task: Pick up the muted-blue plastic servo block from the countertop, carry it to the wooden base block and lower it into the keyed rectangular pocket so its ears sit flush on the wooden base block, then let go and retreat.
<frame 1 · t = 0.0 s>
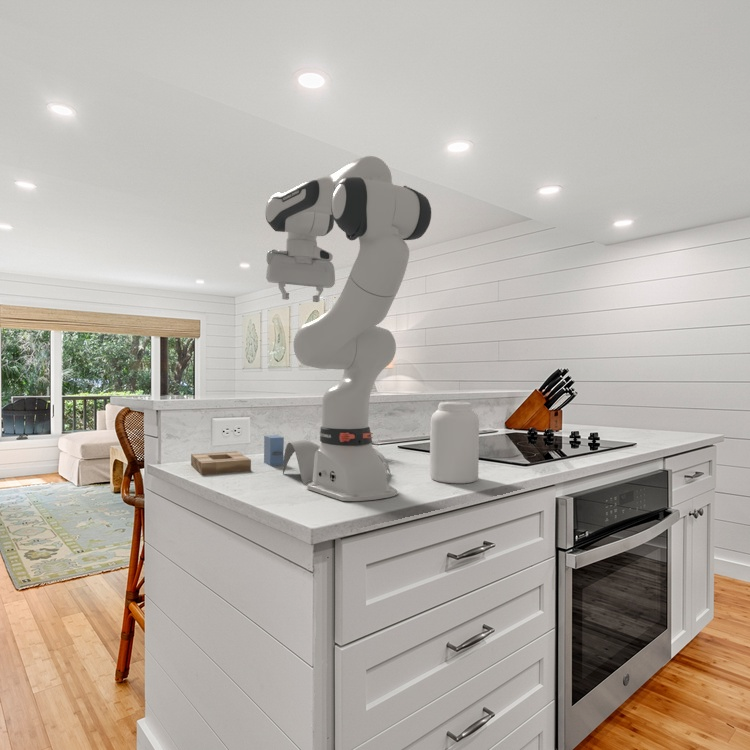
hand: (301, 300, 150), 48 cm above the table, tool pointing down, fingers open, 8 cm apart
sculpture: (335, 476, 138), on the table
servo block: (273, 463, 152), on the table
white lidded jar: (453, 479, 134), on the table
wooden base block: (220, 467, 145), on the table
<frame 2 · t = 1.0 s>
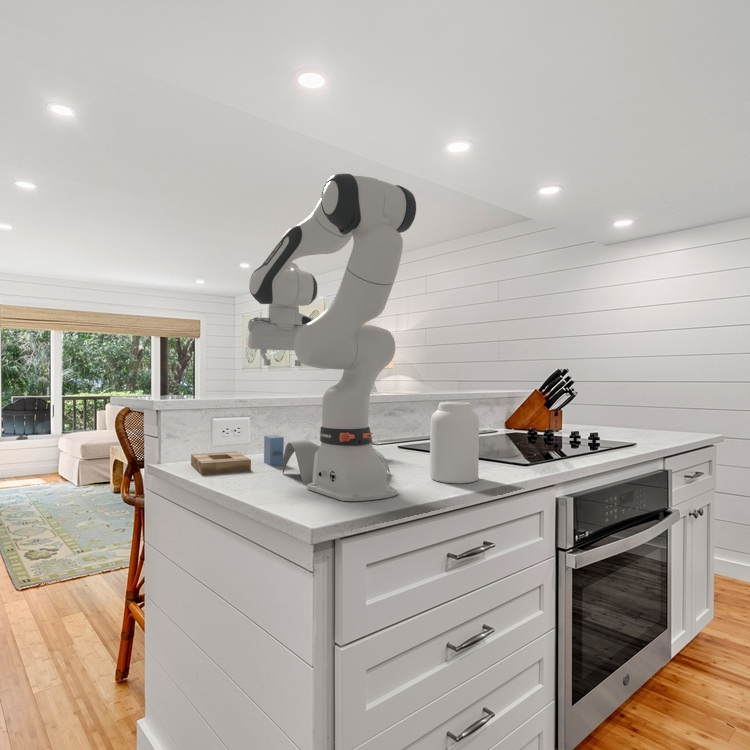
hand: (282, 365, 152), 29 cm above the table, tool pointing down, fingers open, 8 cm apart
nothing on the table moved.
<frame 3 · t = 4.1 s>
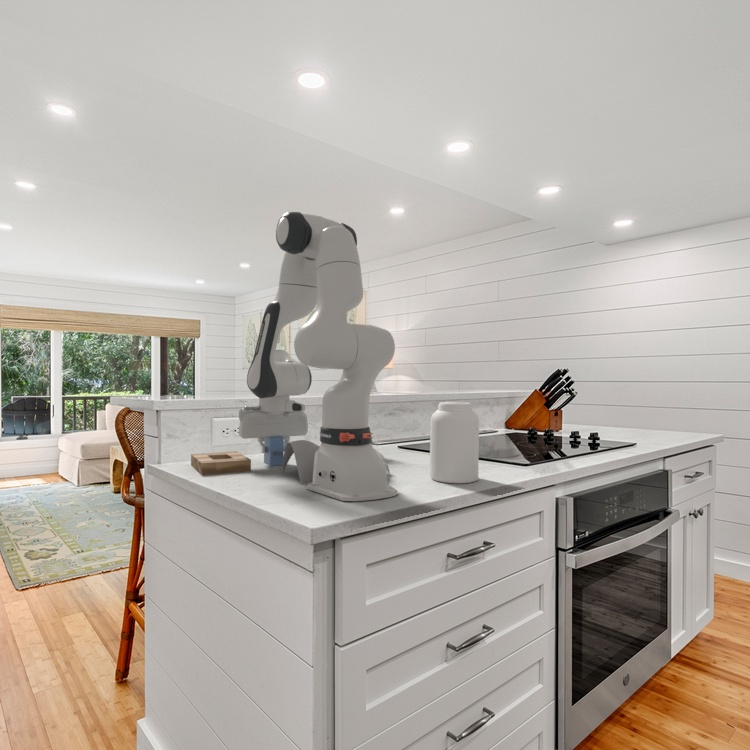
hand: (273, 452, 152), 3 cm above the table, tool pointing down, fingers closed on servo block, 4 cm apart
servo block: (273, 463, 152), on the table, touching gripper
everything else where it was.
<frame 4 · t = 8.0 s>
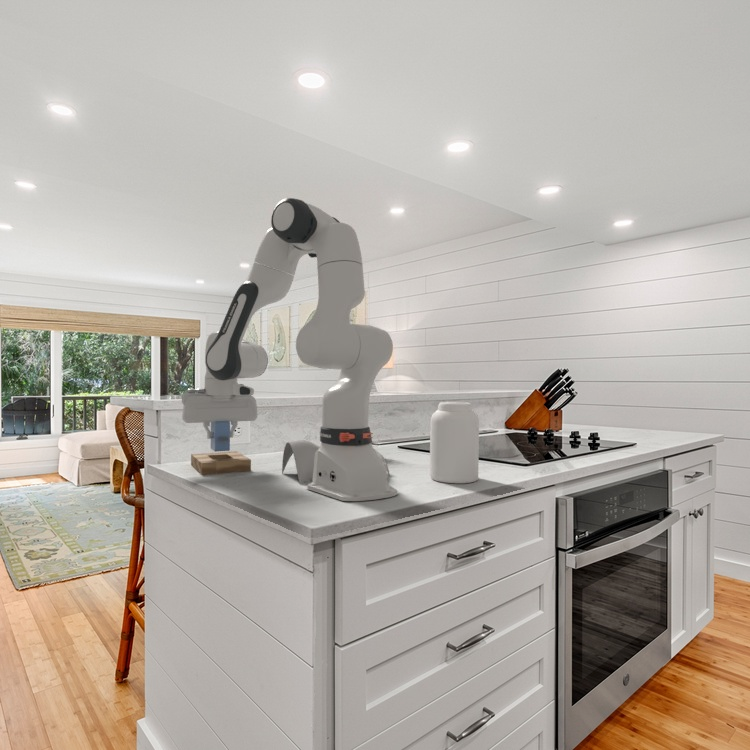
hand: (220, 437, 145), 8 cm above the table, tool pointing down, fingers closed on servo block, 4 cm apart
servo block: (220, 449, 145), point 5 cm above the table, touching gripper
everything else where it was.
when the fingers open (5 cm above the table, at t = 9.5 s): servo block drops 1 cm, resting in wooden base block.
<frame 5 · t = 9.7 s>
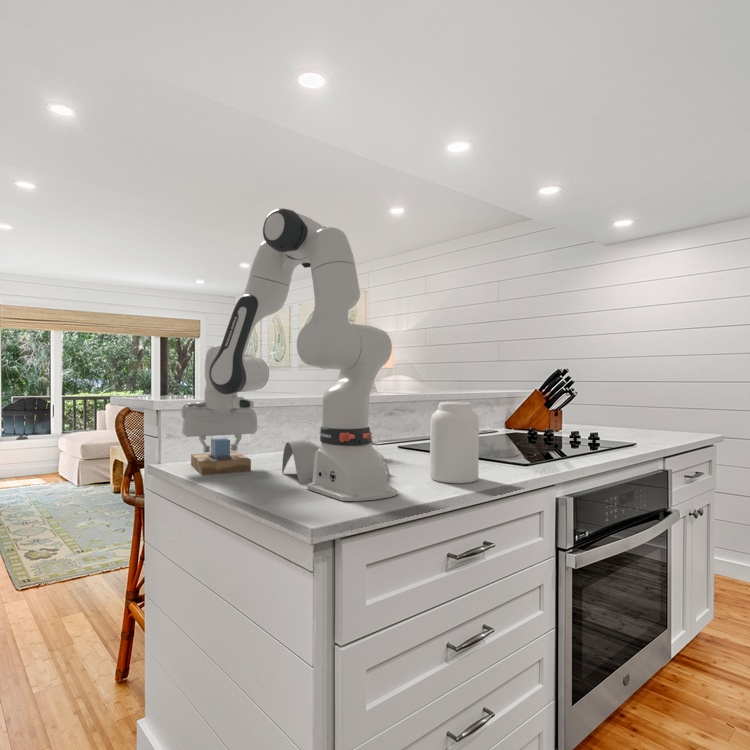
hand: (220, 451, 145), 5 cm above the table, tool pointing down, fingers open, 6 cm apart
sculpture: (334, 476, 138), on the table, touching arm
servo block: (220, 467, 145), resting in wooden base block
everything else where it was.
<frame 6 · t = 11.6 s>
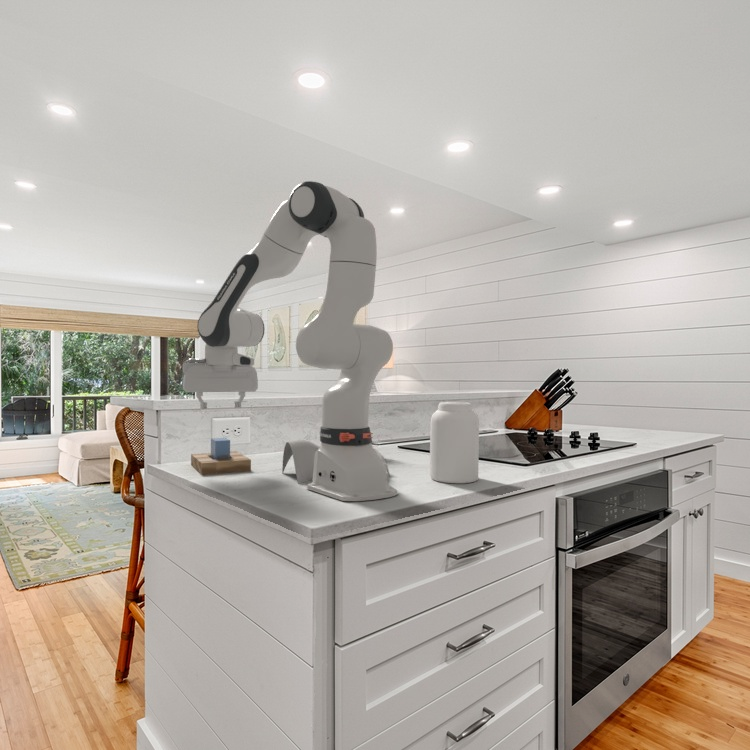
hand: (221, 408, 145), 17 cm above the table, tool pointing down, fingers open, 8 cm apart
sculpture: (334, 476, 138), on the table
everything else where it was.
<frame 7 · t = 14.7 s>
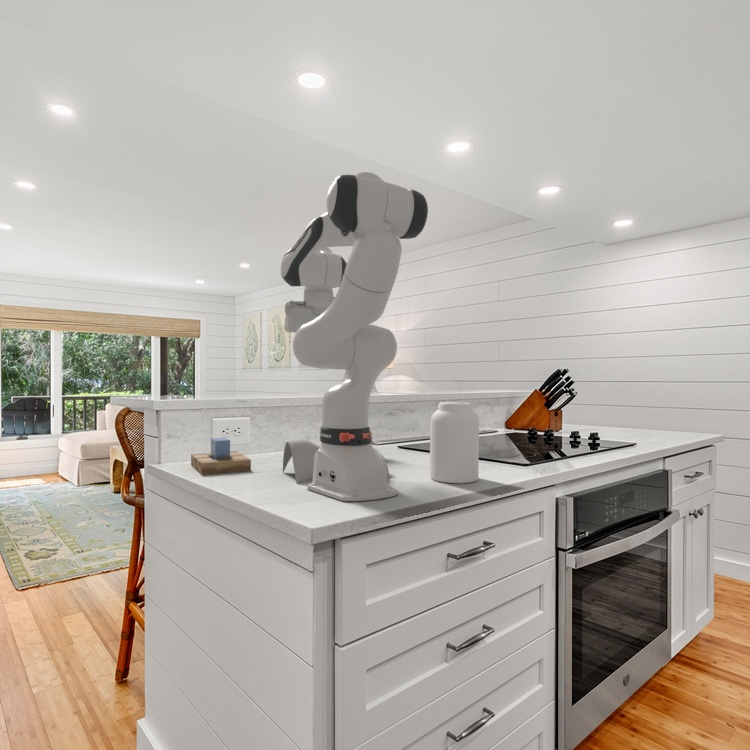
hand: (317, 348, 155), 34 cm above the table, tool pointing down, fingers open, 8 cm apart
nothing on the table moved.
at the end: servo block 0.1 cm off-centre on the wooden base block, point 0.0 cm above the wooden base block's base; servo block tilted 0°; the gripper is holding nothing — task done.
